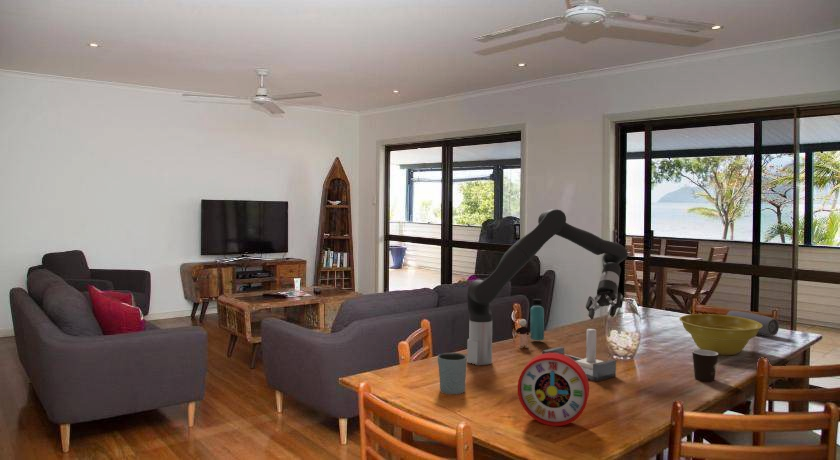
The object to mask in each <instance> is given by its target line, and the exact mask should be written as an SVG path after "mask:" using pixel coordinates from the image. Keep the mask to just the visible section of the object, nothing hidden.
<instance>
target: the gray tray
mask: <svg viewBox="0 0 840 460" xmlns="http://www.w3.org/2000/svg"><path fill="white" fill-rule="evenodd" d="M545 353H559V354H563V355H566V356H568V357H570V358H571V359H573V360H574V361H577V360H581V359H583V358H582V357H577V356H574V355H569V354H566V353H565V347H563V346H557V347H552V348H548V349H544V350H542V351H541V354H545ZM602 361H603V362H599V363H596V364H593V370H591V369H588V368H584V367H582V369H583V370H584V372H585V374H586V376H587V379H588V380H590V381H593V382H602V381H605V380H608V379H611V378H616V376H617V375H616V374H617V372H616V371H617V367H616V366H617V360H615V359H612V358H611V359H608V360H602Z"/></svg>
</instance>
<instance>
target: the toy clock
mask: <svg viewBox="0 0 840 460" xmlns="http://www.w3.org/2000/svg"><path fill="white" fill-rule="evenodd" d="M566 355H567V354H566ZM566 355H563V354H559V353H545V354H542V353H541V354H539V355H536V356H535V357H533V358H532V359H531V360H530V361H528V362H527V364H526V366H525V367H524V368H523V369H522V372H521V374H520V375H519V376H518V382H517V396H518V399H519V401H520V404H521V406H522V408H523V409H524V410H525V412H526V413H527V415H529V416H530V417H531V418H532V419H534V420H535V421H537V422H539V423H541V424H544V425H545V426H546V425H547V426H551V427H559V426H561V427H562V426H565V425H568V424H570V423H572V422H575V421H576V420H577V419H578V418H579V417H580V416H581V415H582V413H583V412H584V411H585V409H586V405H587V402H588V400H589V396H590V384H589V383H590V382H589V379H587V376H586V374H585V372H584V370H583V369H582V367H581V366H580V365H579V364H578V363H577V362H576V361H574V360H573V359H571V358H570V357H568V356H566Z"/></svg>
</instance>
